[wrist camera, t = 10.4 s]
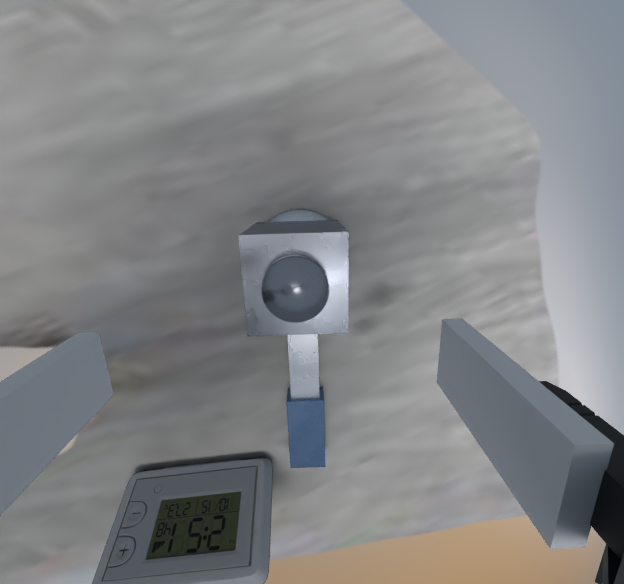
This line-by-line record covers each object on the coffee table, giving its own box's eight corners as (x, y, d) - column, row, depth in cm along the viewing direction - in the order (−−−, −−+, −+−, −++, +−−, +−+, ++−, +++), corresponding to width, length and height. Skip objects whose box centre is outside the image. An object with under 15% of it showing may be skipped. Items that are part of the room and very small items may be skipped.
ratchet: (271, 451, 37) (265, 494, 32) (252, 210, 30) (241, 215, 24) (344, 449, 37) (350, 491, 32) (343, 207, 30) (351, 211, 24)
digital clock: (279, 452, 37) (269, 550, 27) (275, 513, 40) (265, 624, 30) (131, 444, 37) (64, 542, 27) (137, 507, 39) (78, 618, 29)
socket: (263, 297, 29) (244, 343, 21) (257, 222, 27) (234, 237, 19) (337, 295, 29) (350, 339, 21) (337, 219, 27) (350, 233, 19)
